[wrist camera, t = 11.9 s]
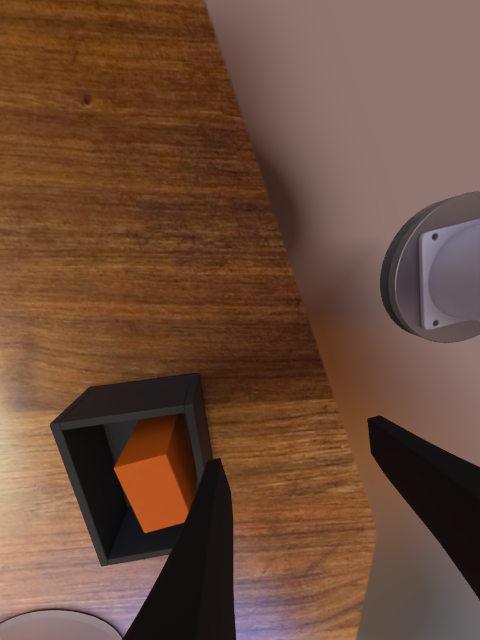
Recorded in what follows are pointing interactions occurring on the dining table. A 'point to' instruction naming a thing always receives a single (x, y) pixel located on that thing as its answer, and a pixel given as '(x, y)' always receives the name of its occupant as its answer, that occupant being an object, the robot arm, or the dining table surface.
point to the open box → (105, 449)
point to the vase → (57, 627)
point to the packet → (158, 471)
